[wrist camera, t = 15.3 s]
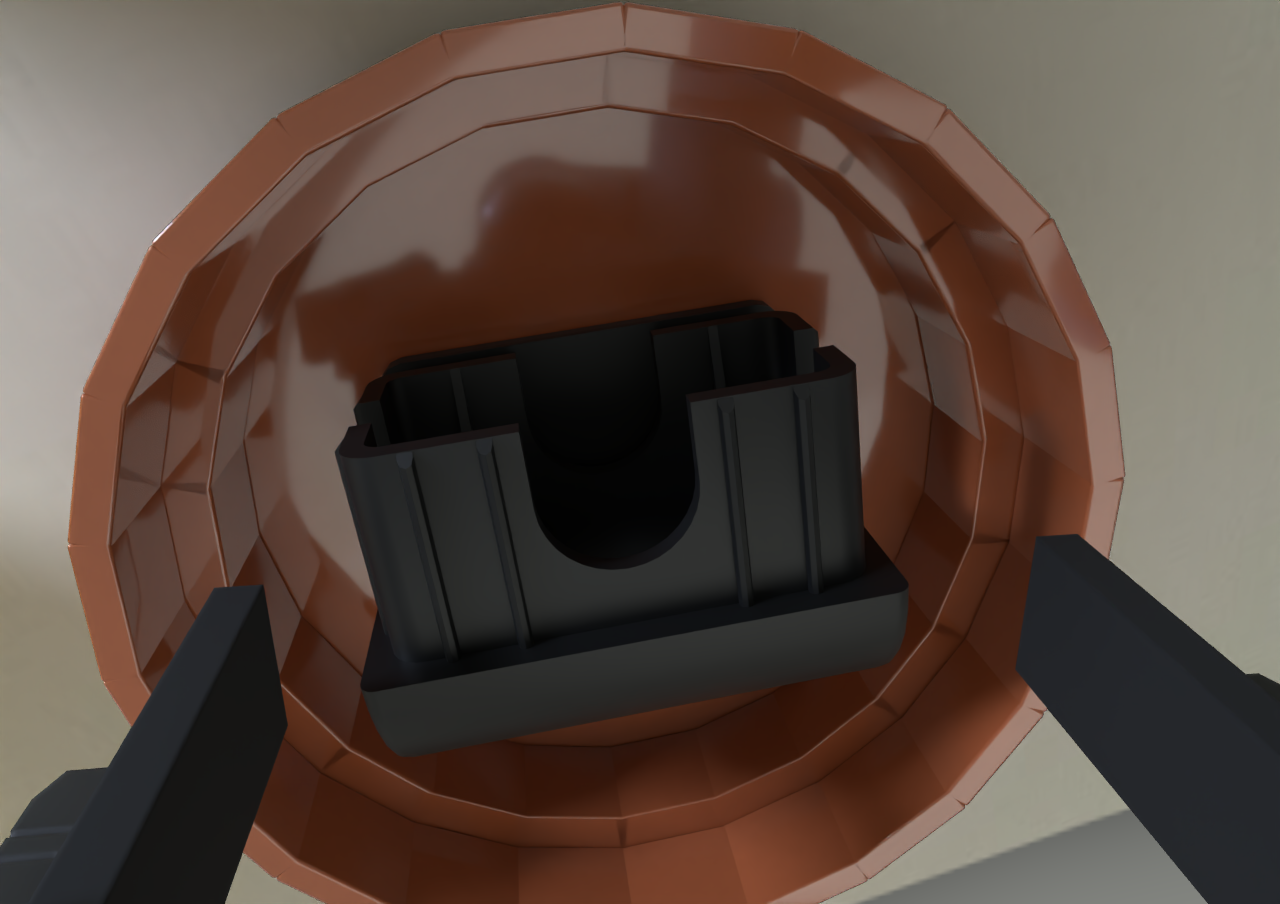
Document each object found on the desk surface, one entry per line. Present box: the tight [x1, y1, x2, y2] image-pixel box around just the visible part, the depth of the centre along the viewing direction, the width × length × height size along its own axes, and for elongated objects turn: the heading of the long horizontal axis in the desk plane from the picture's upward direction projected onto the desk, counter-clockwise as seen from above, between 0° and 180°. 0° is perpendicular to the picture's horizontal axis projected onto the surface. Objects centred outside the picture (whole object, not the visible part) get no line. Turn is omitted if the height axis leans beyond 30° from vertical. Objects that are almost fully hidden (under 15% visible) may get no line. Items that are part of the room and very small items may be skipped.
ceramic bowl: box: [68, 2, 1125, 904], centre depth 21 cm, size 19×20×6 cm
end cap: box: [335, 300, 909, 757], centre depth 20 cm, size 10×7×7 cm
